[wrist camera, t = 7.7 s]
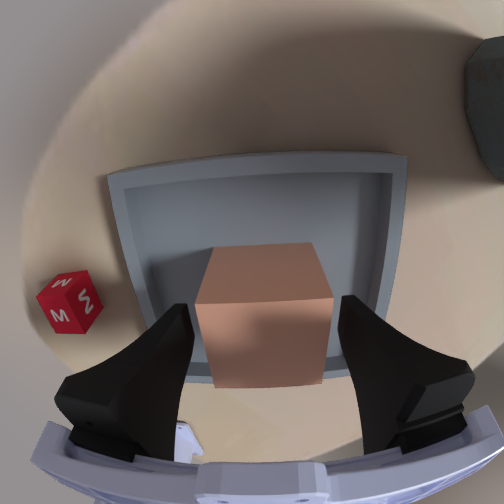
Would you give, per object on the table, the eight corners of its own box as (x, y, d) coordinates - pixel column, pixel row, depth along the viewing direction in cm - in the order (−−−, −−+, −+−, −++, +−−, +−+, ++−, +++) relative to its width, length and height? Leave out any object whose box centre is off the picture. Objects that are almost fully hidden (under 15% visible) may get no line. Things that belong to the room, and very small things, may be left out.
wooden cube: (225, 322, 16) (215, 388, 12) (214, 246, 14) (194, 303, 10) (308, 318, 16) (321, 383, 12) (311, 242, 14) (334, 297, 10)
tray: (173, 363, 19) (168, 381, 17) (123, 169, 13) (106, 175, 11) (363, 354, 18) (369, 372, 17) (391, 152, 12) (407, 157, 11)
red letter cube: (87, 269, 16) (63, 293, 13) (104, 307, 17) (85, 334, 14) (58, 274, 16) (35, 296, 14) (75, 309, 17) (55, 333, 15)
